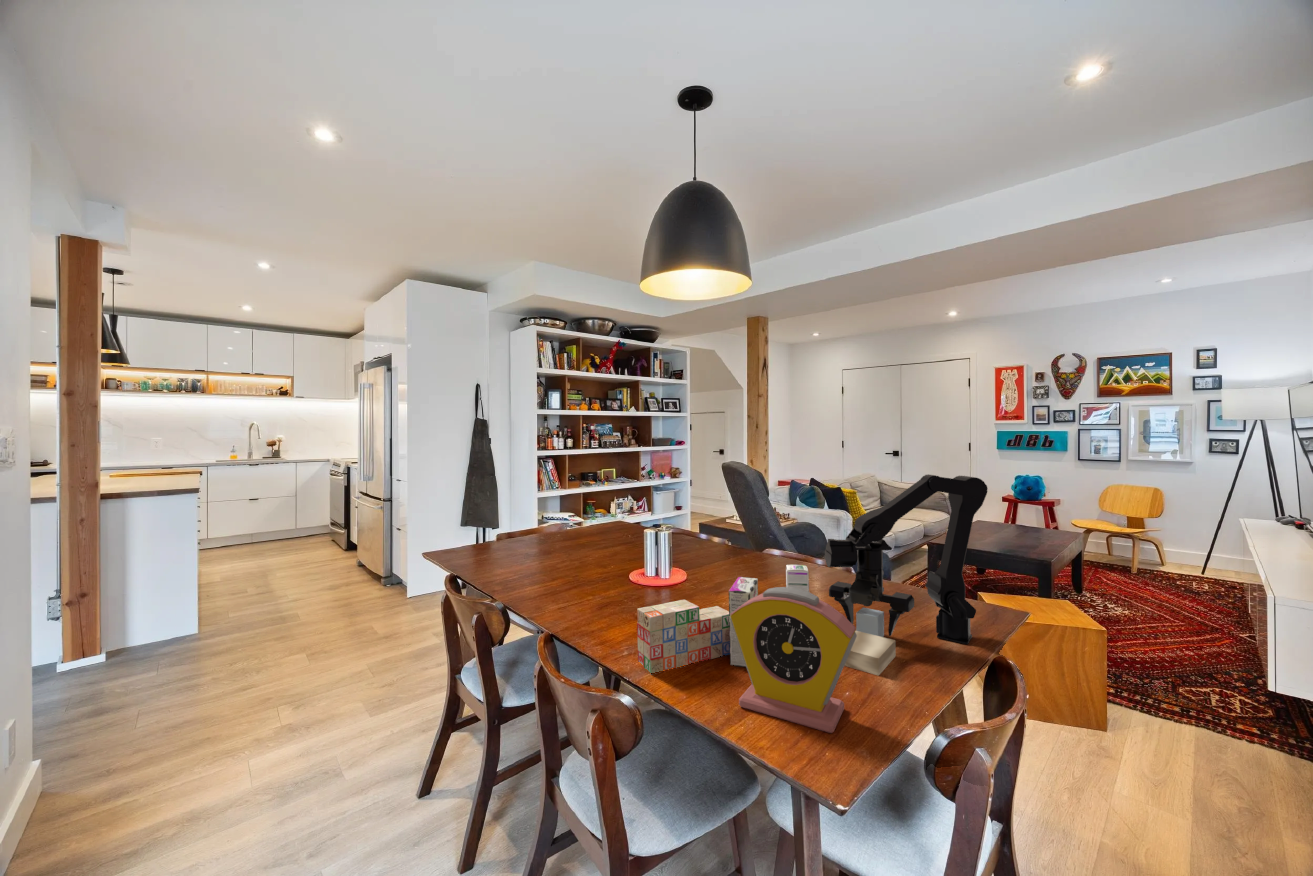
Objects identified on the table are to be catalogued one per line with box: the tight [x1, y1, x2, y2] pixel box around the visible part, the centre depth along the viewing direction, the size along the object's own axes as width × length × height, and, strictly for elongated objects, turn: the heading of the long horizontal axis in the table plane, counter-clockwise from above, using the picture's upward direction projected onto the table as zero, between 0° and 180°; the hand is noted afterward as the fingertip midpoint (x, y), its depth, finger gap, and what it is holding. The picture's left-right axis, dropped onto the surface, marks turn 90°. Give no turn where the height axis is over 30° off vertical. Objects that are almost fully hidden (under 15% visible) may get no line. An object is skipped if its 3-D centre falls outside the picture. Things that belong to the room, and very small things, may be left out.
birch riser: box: [844, 631, 897, 677], centre depth 112 cm, size 12×12×4 cm
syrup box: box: [785, 564, 810, 592], centre depth 134 cm, size 6×6×14 cm
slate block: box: [855, 606, 885, 637], centre depth 124 cm, size 5×5×6 cm
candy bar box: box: [728, 576, 759, 668], centre depth 113 cm, size 11×5×16 cm, turn 160°
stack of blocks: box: [636, 599, 730, 674], centre depth 112 cm, size 21×6×12 cm, turn 118°
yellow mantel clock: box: [730, 586, 857, 734], centre depth 91 cm, size 22×9×22 cm, turn 58°
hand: (870, 630), depth 124 cm, fingers open, 9 cm apart
